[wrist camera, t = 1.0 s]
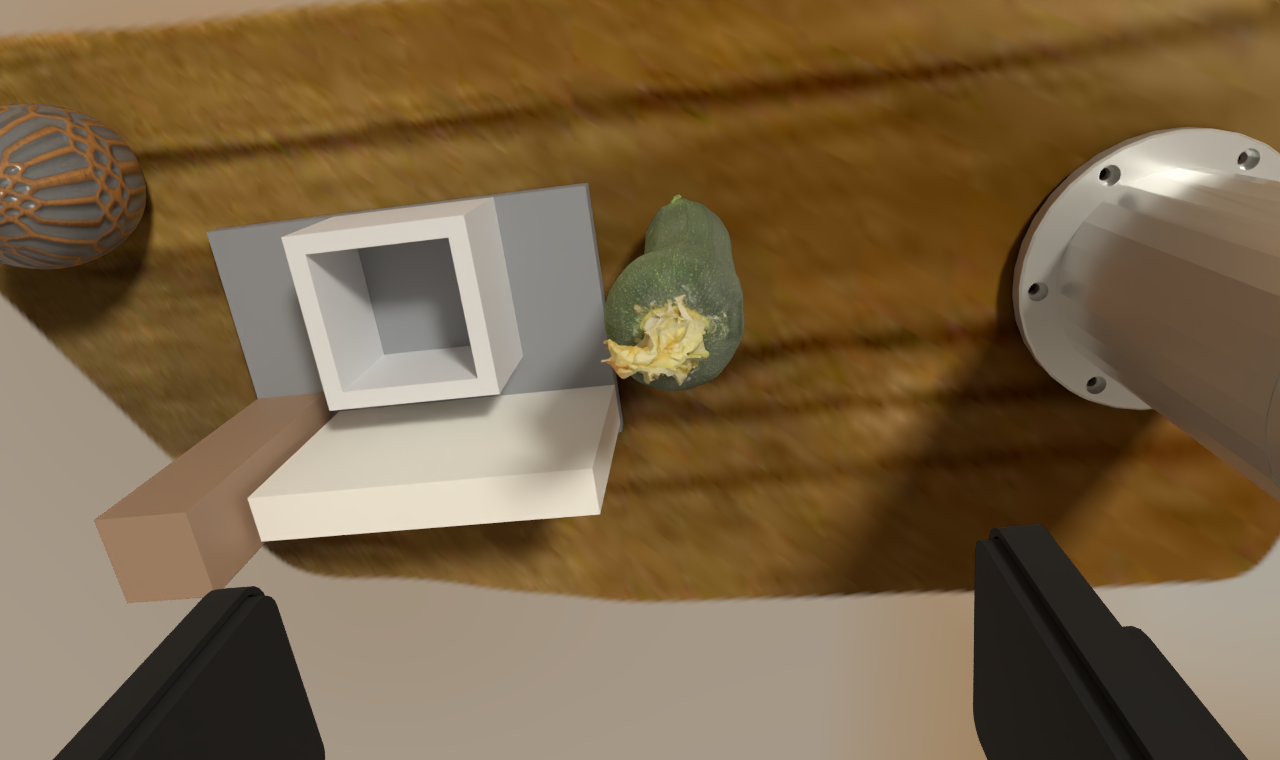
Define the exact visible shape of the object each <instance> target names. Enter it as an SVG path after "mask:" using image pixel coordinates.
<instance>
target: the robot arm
mask: <svg viewBox="0 0 1280 760" xmlns="http://www.w3.org/2000/svg"><path fill="white" fill-rule="evenodd" d="M1240 154H1241V158H1240V160H1239V161H1237V160H1238V158H1239V155H1240ZM1103 168H1105V171H1106V173H1105V176H1104V177H1103V178H1101V179H1099V175H1100V172H1101V170H1102V169H1103ZM1034 283H1035V284H1036V287H1035V289H1034V290H1033V291H1031V292H1028V290H1029V288H1030V287H1031V286H1032V285H1033V284H1034ZM1012 297H1013V305H1014V313H1015V320H1016V323H1017V325H1018V328H1019V331H1020V334H1021V336H1022V339H1023V342H1024V343H1025V345H1026V347H1027V348H1028V350H1029V351H1030V353H1031V354H1032V356H1033V358H1034V359H1035V361H1036V362H1037V363H1038V364H1039V365H1040V366H1041V367H1042V368H1043V369H1044V370H1045V371H1046V372H1047V373H1048V374H1049V375H1050V376H1051V377H1052V378H1054V379H1055V380H1056V381H1057V382H1059V383H1060V384H1061V385H1063V386H1064V387H1065V388H1067V389H1068V390H1069V391H1071V392H1073V393H1075V394H1077V395H1078V396H1080V397H1082V398H1084V399H1086V400H1089V401H1091V402H1095V403H1099V404H1102V405H1106V406H1110V407H1114V408H1121V409H1134V410H1149V409H1154V410H1155V411H1157V412H1158V413H1159V414H1161V415H1162V416H1163V417H1165V418H1166V419H1167V420H1169V421H1170V422H1171V423H1173V424H1174V425H1176V426H1177V427H1178V428H1180V429H1181V430H1182V431H1184V432H1185V433H1186V434H1188V435H1189V436H1190V437H1192V438H1193V439H1194V440H1196V441H1197V442H1199V443H1200V444H1201V445H1203V446H1204V447H1205V448H1207V449H1208V450H1209V451H1211V452H1212V453H1213V454H1215V455H1216V456H1217V457H1219V458H1220V459H1222V460H1223V461H1224V462H1226V463H1227V464H1228V465H1230V466H1231V467H1232V468H1234V469H1235V470H1236V471H1238V472H1239V473H1240V474H1242V475H1243V476H1245V477H1246V478H1247V479H1249V480H1250V481H1251V482H1253V483H1254V484H1255V485H1257V486H1258V487H1259V488H1261V489H1262V490H1263V491H1265V492H1266V493H1268V494H1269V495H1270V496H1272V497H1273V498H1274V499H1276V500H1277V501H1278V502H1280V153H1278V152H1277V151H1275V150H1274V149H1273V148H1271V147H1270V146H1268V145H1267V144H1265V143H1263V142H1260V141H1258V140H1255V139H1253V138H1250V137H1248V136H1245V135H1243V134H1240V133H1235V132H1229V131H1223V130H1217V129H1211V128H1193V127H1182V128H1174V129H1166V130H1158V131H1153V132H1150V133H1147V134H1143V135H1140V136H1137V137H1134V138H1130V139H1127V140H1125V141H1123V142H1121V143H1119V144H1117V145H1115V146H1113V147H1111V148H1109V149H1107V150H1105V151H1103V152H1101V153H1099V154H1097V155H1096V156H1094V157H1093V158H1092V159H1090V160H1089V161H1087V162H1086V163H1085V164H1083V165H1082V166H1080V167H1079V168H1078V169H1076V170H1075V171H1074V172H1072V173H1071V174H1070V175H1069V176H1068V177H1067V178H1066V179H1065V180H1064V181H1063V182H1062V183H1061V184H1060V185H1059V186H1058V187H1057V188H1056V189H1055V190H1054V191H1053V192H1052V193H1051V195H1050V196H1049V197H1048V199H1047V200H1046V202H1045V203H1044V204H1043V206H1042V207H1041V209H1040V210H1039V211H1038V213H1037V214H1036V216H1035V217H1034V219H1033V221H1032V223H1031V225H1030V227H1029V229H1028V231H1027V233H1026V235H1025V237H1024V239H1023V241H1022V243H1021V247H1020V250H1019V254H1018V258H1017V261H1016V265H1015V269H1014V279H1013V292H1012ZM1091 378H1092V380H1091V381H1090V382H1088V381H1089V380H1090V379H1091ZM1087 382H1088V383H1087ZM973 680H974V683H973V713H974V714H973V715H974V722H975V727H976V731H977V735H978V738H979V741H980V743H981V746H982V748H983V750H984V752H985V755H986V757H987V760H1248V759H1247V758H1246V756H1245V755H1244V754H1243V753H1242V751H1241V750H1240V749H1239V748H1238V747H1237V745H1236V744H1235V743H1234V742H1233V740H1232V739H1231V738H1230V737H1229V735H1228V734H1227V733H1226V732H1225V731H1224V729H1223V728H1222V727H1221V726H1220V724H1219V723H1218V722H1217V721H1216V719H1215V718H1214V717H1213V716H1212V715H1211V713H1210V712H1209V711H1208V710H1207V708H1206V707H1205V706H1204V705H1203V703H1202V702H1201V701H1200V700H1199V698H1198V697H1197V696H1196V695H1195V693H1194V692H1193V691H1192V690H1191V689H1190V687H1189V686H1188V685H1187V684H1186V683H1185V681H1184V680H1183V679H1182V677H1181V676H1180V675H1179V674H1178V672H1177V671H1176V670H1175V669H1174V668H1173V666H1172V665H1171V664H1170V663H1169V661H1168V660H1167V659H1166V658H1165V656H1164V655H1163V654H1162V653H1161V652H1160V651H1159V649H1158V648H1157V647H1156V645H1155V644H1154V643H1153V642H1152V640H1151V639H1150V638H1149V637H1148V636H1147V635H1146V634H1145V633H1144V632H1143V631H1142V630H1141V629H1138V628H1136V627H1133V626H1126V627H1122V626H1121V625H1120V624H1119V622H1118V621H1117V620H1116V618H1115V617H1114V616H1113V614H1112V613H1111V612H1110V611H1109V609H1108V608H1107V607H1106V605H1105V604H1104V603H1103V602H1102V600H1101V599H1100V598H1099V597H1098V595H1097V594H1096V593H1095V591H1094V590H1093V589H1092V587H1091V586H1090V585H1089V584H1088V582H1087V581H1086V580H1085V578H1084V577H1083V576H1082V575H1081V573H1080V572H1079V571H1078V569H1077V568H1076V567H1075V565H1074V564H1073V563H1072V562H1071V560H1070V559H1069V558H1068V556H1067V555H1066V554H1065V553H1064V551H1063V550H1062V549H1061V547H1060V546H1059V545H1058V544H1057V542H1056V541H1055V540H1054V538H1053V537H1052V536H1051V535H1050V533H1049V532H1048V531H1047V529H1046V528H1045V527H1043V526H1042V525H1040V524H1033V525H1021V526H1008V527H995V528H993V529H992V530H991V533H990V536H989V540H979V541H978V542H977V543H976V548H975V602H974V679H973ZM53 760H325V750H324V745H323V742H322V739H321V737H320V733H319V730H318V727H317V724H316V721H315V718H314V715H313V712H312V709H311V706H310V703H309V700H308V697H307V694H306V691H305V688H304V685H303V682H302V679H301V676H300V673H299V670H298V667H297V664H296V661H295V658H294V655H293V652H292V649H291V646H290V643H289V640H288V637H287V634H286V631H285V628H284V625H283V622H282V619H281V616H280V613H279V610H278V607H277V604H276V602H275V600H274V599H273V598H272V597H269V596H265V595H264V593H263V592H262V591H261V590H260V589H259V588H257V587H254V586H251V587H240V588H239V587H238V588H226V589H216V590H212V591H210V592H209V593H208V594H206V595H205V596H204V597H203V598H202V600H201V601H200V602H199V603H198V604H197V605H196V606H195V607H194V608H193V609H192V610H191V611H190V612H189V614H188V615H187V616H186V617H185V618H184V619H183V620H182V621H181V622H180V623H179V624H178V625H177V627H176V628H175V629H174V630H173V631H172V632H171V633H170V634H169V635H168V636H167V637H166V638H165V639H164V641H163V642H162V643H161V644H160V645H159V646H158V647H157V648H156V649H155V650H154V651H153V653H151V654H150V656H149V657H148V658H147V659H146V660H145V661H144V662H143V663H142V664H141V665H140V666H139V667H138V668H137V670H136V671H135V672H134V673H133V674H132V675H131V676H130V677H129V678H128V679H127V680H126V681H125V683H124V684H123V685H122V686H121V687H120V688H119V689H118V690H117V691H116V693H114V694H113V695H112V697H111V698H110V699H109V700H108V701H107V702H106V703H105V704H104V705H103V706H102V707H101V709H99V711H98V712H97V713H96V714H95V715H94V716H93V717H92V718H91V719H90V720H89V721H88V723H86V725H85V726H84V727H83V728H82V729H81V730H80V731H79V732H78V733H77V734H76V735H75V737H74V738H73V739H72V740H71V741H70V742H69V743H68V744H67V745H66V746H65V747H64V748H63V749H62V750H61V751H60V753H59V754H58V755H57V756H56V757H55V758H54V759H53Z"/></svg>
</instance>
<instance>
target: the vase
mask: <svg viewBox="0 0 1280 760" xmlns="http://www.w3.org/2000/svg"><path fill="white" fill-rule="evenodd" d="M145 205H146V185H145V180H144V176H143V172H142V169H141V167H140V165H139V163H138V161H137V159H136V157H135V155H134V154H133V152H132V151H131V149H130V148H129V147H128V145H127V144H126V143H125V142H124V141H123V140H122V139H121V138H120V137H119V136H118V135H117V134H116V133H115V132H114V131H112V130H111V129H110V128H108V127H107V126H105V125H104V124H102V123H100V122H99V121H97V120H95V119H93V118H91V117H89V116H87V115H84V114H82V113H79V112H77V111H74V110H71V109H67V108H63V107H59V106H54V105H46V104H11V105H3V106H0V263H3V264H7V265H11V266H16V267H22V268H31V269H60V268H68V267H73V266H77V265H81V264H84V263H87V262H90V261H93V260H96V259H98V258H100V257H102V256H104V255H106V254H108V253H110V252H112V251H113V250H114V249H116V248H117V247H118V246H120V245H121V244H122V243H123V242H125V241H126V239H127V238H128V237H129V236H130V235H131V234H132V233H133V232H134V230H135V229H136V227H137V226H138V224H139V222H140V220H141V218H142V216H143V213H144V210H145Z"/></svg>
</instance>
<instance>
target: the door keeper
mask: <svg viewBox="0 0 1280 760" xmlns="http://www.w3.org/2000/svg"><path fill="white" fill-rule="evenodd" d="M207 235H208V239H209V242H210V245H211V248H212V252H213V255H214V258H215V261H216V265H217V268H218V271H219V274H220V278H221V281H222V284H223V287H224V291H225V294H226V297H227V300H228V303H229V307H230V310H231V313H232V316H233V320H234V323H235V326H236V329H237V333H238V336H239V339H240V342H241V346H242V349H243V352H244V355H245V359H246V362H247V365H248V368H249V372H250V375H251V378H252V381H253V385H254V388H255V391H256V394H257V398H258V399H257V400H255V401H254V402H253V403H251V404H250V405H249V406H247V407H246V408H245V409H243V410H242V411H241V412H239V413H238V414H237V415H235V416H234V417H233V418H231V419H230V420H228V421H227V422H226V423H224V424H223V425H222V426H220V427H219V428H218V429H216V430H215V431H214V432H212V433H211V434H210V435H208V436H207V437H206V438H204V439H203V440H201V441H200V442H199V443H197V444H196V445H195V446H193V447H192V448H191V449H189V450H188V451H187V452H185V453H184V454H183V455H181V456H180V457H179V458H177V459H176V460H175V461H173V462H172V463H171V464H169V465H168V466H167V467H165V468H164V469H162V470H161V471H160V472H158V473H157V474H156V475H154V476H153V477H152V478H150V479H149V480H148V481H146V482H145V483H144V484H142V485H141V486H140V487H138V488H137V489H135V490H134V491H133V492H131V493H130V494H129V495H128V496H126V497H125V498H123V499H122V500H121V501H119V502H118V503H117V504H115V505H114V506H113V507H111V508H110V509H108V510H107V511H106V512H104V513H103V514H102V515H100V516H99V517H98V518H96V519H95V520H94V522H95V524H96V527H97V529H98V532H99V534H100V537H101V539H102V542H103V544H104V547H105V549H106V551H107V554H108V556H109V559H110V561H111V564H112V566H113V569H114V571H115V574H116V576H117V579H118V581H119V584H120V586H121V589H122V591H123V594H124V596H125V599H126V601H127V603H134V602H148V601H162V600H175V599H189V598H202V597H204V596H205V595H206V594H208V593H209V592H210V591H212V590H216V589H223V588H224V587H225V586H226V585H227V584H228V583H229V582H230V580H231V579H232V578H233V577H234V576H235V575H236V574H237V573H238V572H239V570H241V568H242V567H243V566H244V565H245V564H246V563H247V562H248V561H249V560H250V559H251V558H252V557H253V555H254V554H255V553H256V552H257V551H258V550H259V549H260V548H261V547H262V546H263V545H264V543H265V542H266V541H276V540H288V539H300V538H313V537H325V536H337V535H350V534H362V533H374V532H387V531H399V530H412V529H424V528H436V527H449V526H461V525H473V524H486V523H498V522H510V521H523V520H535V519H548V518H560V517H572V516H585V515H597V514H600V512H601V507H602V503H603V498H604V494H605V489H606V485H607V480H608V476H609V471H610V467H611V462H612V457H613V453H614V448H615V444H616V439H617V435H618V432H622V428H623V418H622V411H621V404H620V397H619V391H618V384H617V377H616V371H615V370H614V369H613V367H612V366H611V365H610V364H608V363H606V362H601V361H602V360H606V359H608V358H610V357H611V354H610V350H608V349H606V348H605V347H608V345H607V344H604V341H607V335H606V330H605V322H604V307H605V303H606V302H605V295H604V288H603V282H602V275H601V268H600V261H599V254H598V248H597V241H596V234H595V227H594V220H593V214H592V207H591V200H590V193H589V186H588V183H582V184H574V185H566V186H558V187H550V188H542V189H534V190H526V191H518V192H510V193H502V194H494V195H486V196H478V197H470V198H461V199H453V200H445V201H437V202H429V203H421V204H413V205H405V206H397V207H389V208H381V209H373V210H365V211H357V212H349V213H341V214H333V215H325V216H317V217H309V218H301V219H293V220H285V221H276V222H268V223H260V224H252V225H244V226H236V227H228V228H220V229H216V230H213V231H210V232H207Z"/></svg>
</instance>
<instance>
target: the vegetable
mask: <svg viewBox="0 0 1280 760" xmlns="http://www.w3.org/2000/svg"><path fill="white" fill-rule="evenodd" d="M604 322H605V330H606V335H607V341H604V344H607V345H608V347H605V348H606V349H608V350H610V354H611V357H610V358H608V359H606V360H602V361H601V362H606V363H608V364H610V365H611V366H612V367H613V369H614V370H615V371H616V373H617V374H618V375H619V376H620V378H622V379H626V378H627V377H629V376H632V377H633V378H634V379H635V380H637V381H638V382H639V383H642V384H645V385H648V386H650V387H654V388H657V389H661V390H666V391H676V390H687V389H690V388H693V387H696V386H699V385H701V384H704V383H707V382H709V381H711V380H712V379H714V378H716V377H717V376H718V375H719V374H720V373H721V372H722V371H723V369H724V368H725V367H726V365H727V364H728V363H729V361H730V360H731V358H732V357H733V355H734V353H735V351H736V349H737V348H738V346H739V344H740V342H741V339H742V336H743V332H744V308H743V292H742V289H741V285H740V281H739V279H738V277H737V275H736V272H735V267H734V263H733V257H732V250H731V241H730V237H729V233H728V231H727V230H726V228H725V226H724V225H723V223H722V221H721V220H720V219H719V217H718V216H717V215H715V214H714V213H713V212H711V211H710V210H709V209H708V208H706V207H705V206H704V205H703V204H701V203H698V202H694V201H689V200H687V199H684V198H681V196H680V195H675V196H674V197H673V198H672V200H671V202H670V204H669V205H666V206H664V207H662V208H661V209H660V210H659V211H658V212H657V213H656V215H655V217H654V218H653V220H652V222H651V223H650V225H649V227H648V229H647V231H646V235H645V251H644V255H642V256H640V257H638V258H637V259H635V260H634V261H633V262H631V263H630V264H629V265H628V266H627V267H626V268H625V270H624V271H623V272H622V273H621V274H620V275H619V276H618V278H617V279H616V281H615V283H614V284H613V286H612V288H611V289H610V291H609V293H608V297H607V300H606V303H605V307H604Z"/></svg>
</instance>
